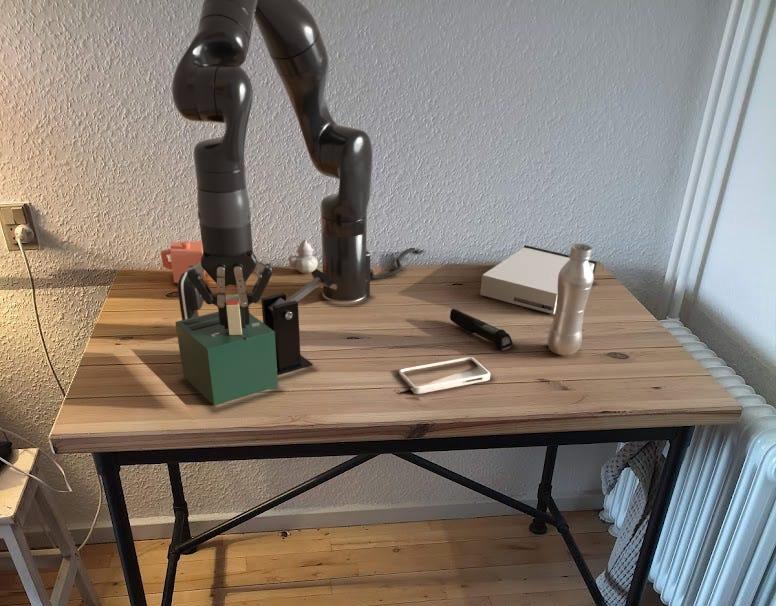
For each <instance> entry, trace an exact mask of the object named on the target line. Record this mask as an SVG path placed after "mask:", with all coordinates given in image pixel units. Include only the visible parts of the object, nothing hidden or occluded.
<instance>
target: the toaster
mask: <svg viewBox="0 0 776 606" xmlns="http://www.w3.org/2000/svg"><path fill="white" fill-rule="evenodd" d="M217 313H219V311H215V312H211V313H207V314H203V315H199V316H198V317H194V318H190V319H185V320H182V319H181V320H177V321H175V329H176V336H177V342H178V349H179V354H180V362H181V369H182V375H183V378H184V379H186V381H187V382H188V383H190V384H191V385H192V386H193V387H194V388H195V389H196V390H197V391H198V392H199V393H200V394H202V396H203V397H204V398H205V399H206V400H207V401H209V403H211V404H212V406H219V405H221V404H225V403H228V402H232V401H234V400H235V401H236V400H237V399H241V398H245V397H248V396H251V395H254V394H258V393H261V392H265V391H267V390H272V389H274V388H278V387H279V379H278V377H279V376H277V362H276V347H275V332H274V331H273V330H272V329H270V328H269V327H268V326H266V325H265V324H264V323H263V321H261V320H260V319H258V318H257V317H256V316H254V315H253V314H252V313H250V312H249V317H250V322H249V325H246V328H242V335H229V329H225V327H224V326H221V324H220V323H219V324H215V325H211V326H207V327H203V328H199V329H195V330H192V329H190V328H189V327H191V326H195V325H199V324H203V323H207V322H211V321H215V320H219V317H217V318H212V319H208V320H204V321H200V322H196V323H192V324H188V325H186V324H185V323H183V322H184V321H188V320H192V319H196V318H200V317H204V316H209V315H213V314H217Z"/></svg>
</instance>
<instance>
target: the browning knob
mask: <svg viewBox="0 0 776 606" xmlns="http://www.w3.org/2000/svg"><path fill="white" fill-rule="evenodd" d="M225 300H226V309H227V318H228V328H229V335H242V328H241V317H240V299H239V294H225Z"/></svg>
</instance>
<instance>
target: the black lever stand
mask: <svg viewBox="0 0 776 606" xmlns="http://www.w3.org/2000/svg"><path fill="white" fill-rule="evenodd" d="M279 298H282V299H283V300H285V301H286V300H287V294H286V293H285V292H279V293H275V294H271V295H266V296H263V297H262V296H261V298H260V301H261V314H262V315H261V316H262V323H264V324H265V325H266V326H268V327H269V328H270V329H272V330H273V331H274V332H275V347H276V362H277V377H279V376H281V375H284V374H288V373H291V372H295V371H298V370H301V369H304V368H309V367H311V366H313V363H312V362H311V361H309V360H308V359H307V358H305V356H303V355H302V354H301V339H300V338H301V337H300V318H299V317H300V316H299V313H300V312H299V301H298V302H297V301H295V300H294V301H290V302H286V303H282V304H278V305H274V306H273V316H272V314H271V312H270V310H269V308H268V307H269V306H270V305H271V304H273V303H274V302H275V301H277V300H278V299H279Z"/></svg>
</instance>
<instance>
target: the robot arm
mask: <svg viewBox="0 0 776 606" xmlns="http://www.w3.org/2000/svg"><path fill="white" fill-rule="evenodd" d="M254 22H255V24H256V26H257V28H258V30H259V33H260V35H261V38H262V40H263V43H264V45H265V48H266V50H267V53H268V55H269V57H270V59H271V62H272V64H273V67H274V68H275V71H276V73H277V75H278V77H279V79H280V81H281V83H282V85H283V88H284V90H285V92H286V95H287V97H288V101H289V102H290V104H291V107H292V110H293V111H294V115H295V117H296V119H297V122H298V125H299V129H300V131H301V134H302V138H303V141H304V144H305V147H306V150H307V152H308V156H309V159H310V161H311V163H312V165H313V166H314V168H315V169H316V171H317V172H318V173H320V174H321V175H323V176H324V177H325V176H326V177H328V178H333V179H337V180H339V181H338V182H339V183H338V190H337V191H338V193H333V194H330V195H327V196H325V197H323V198H322V200H321V201H320V227H321V228H320V229H321V231H320V232H321V233H320V234H321V267H322V269H321V272H322V273H324V274H326V275H328V276H329V277H331V278H332V280H333V282H334V284H332V285H331V286H330V287H327V286H326V285H324V284H322V293H321V294H322V299H323V300H324V301H332V302H338V303H354V302H357V301H360V300H363V299H364V298H367V299H368V298H370V297H371V279H373V280H379V279H384V278H390V277H391V276H394V275H397V274H398V273H400V272H401V270H402V269H403V266H402V264H401V260H402V259H403V258H404V257H405V256H406V255H408V254H409V253H412V252H415V253H416V254H419V253H420V252H421V251H420V250H419V248H417V250H415V248H416V247H415V248H412V247H409V248H407V249H405V250H404V251H403V252H401V253H400V254H399V255H398V256H397V257H396V260H395V264H396V265H397V267H396V268H395V269H394V270H392V271H389V272H387V273H383V274H375V272H374V270H373V269H372V268H371V252H370V251H368V250H367V244H368V243H367V241H368V239H367V235H368V234H367V233H368V231H367V228H368V226H367V224H368V223H367V222H368V221H367V220H368V219H367V218H368V206H369V202H370V199H371V192H372V191H371V189H372V175H373V161H374V159H373V158H374V157H373V154H374V153H373V152H374V151H373V145H372V141H371V139H370V138H371V137H370V136H369V134H367V132H365V131H364V130H362V129H359V128H353V127H349V126H345V125H339V124H338V123H336V121H335V120H334V118H333V117H332V115H331V113H330V109H329V107H328V105H327V102H326V97H325V91H326V85H327V81H328V76H329V69H330V66H329V65H330V64H329V61H330V60H329V54H328V51H327V48H326V45H325V43H324V40H323V38H322V37H323V36H322V35H321V32H320V29H319V27H318V23H317V21H316V19H315V17H314V16H313V14H312V12H311V11H310V10H309V9H308V8H307V7H306V6H305V5H304V4H303V3H302V2H301V1H300V0H203V1H202V7H201V12H200V16H199V21H198V25H197V30H196V33H195V35H194V37H193V38H192V40H191V41H190V44H189V45H188V47H187V48H186V50H185V52H184V53H183V55H182V56H181V58H180V60H179V61H178V64H177V66H176V68H175V70H174V74H173V77H172V84H171V96H172V100H173V101H172V102H173V104H174V106H175V108H176V111H177V112H178V113H179V114H180V116H181V117H183V118H184V119H186V120H187V121H191V122H199V123H214V124H215V123H217V124H225V125H224V126H225V128H224V129H225V130H224V133H223V134H222V136H220V137H219V136H218V137H214V138H208V139H204V140H200V141H198V142H197V143H196V144H195V146H194V148H193V162H194V163H193V164H194V168H195V180H196V188H197V189H196V190H197V194H196V195H197V197H196V201H197V202H196V203H197V217H198V220H199V230H200V239H201V242H202V248H203V255H202V258H201V262H200V263H198V264H197V265H195V266H189V267H188V270H187V276H188V278H189V279H190V281H191V282H192V284H193V285H194V286H195V288H196V289H197V291H198V292H199V294H200V295H201V296H202V298H203V299H204V302H205V304H207V305H208V306H209V305H210V306H211V305H214V306H216V307H217V312H219V321H220V324H221V326H224V327H225V329H229V328H228V318H227V309H226V287H228V286H234V287H236V289H237V293H238V294H239V300H240V317H241V328H246V325H249V322H250V317H249V313H250V305H252V304H257V303H259V301H261V298H262V295H263V294H264V292H265V290H266V288H267V285H268V283H269V281H270V280H271V277H272V275H273V269H272V265H271V264H270V263H265V264H264V263H263V262H261V261H258V260H257V256H256V255H255V253H254V249H253V247H254V246H253V235H252V223H251V222H252V220H251V209H250V207H251V205H250V199H249V194H248V190H247V189H248V188H247V179H246V166H245V165H246V164H245V147H246V138H247V130H248V125H249V121H250V115H251V110H252V106H253V97H254V95H253V86H252V83H251V80H250V77H249V76H248V74H247V72H246V71H245V70H244V69H243V68H242V67H241V66H242V65H244V63H245V61H246V59H247V56H248V52H249V48H250V42H251V36H252V31H253V25H254ZM414 250H415V251H414ZM203 270H205V273H206V274H207V275H208V276H209V277H210V278H211V279H212V281H214V282H215V284H216V293H214V292H213V291H212V290H211V288H210V287H209V285H208V284H207V283H206V281H204V280H203V276H204V273H203ZM254 270H256V277H257V280H256V281H255V283H254V285H253V288H252V290H251V292H248V291H247V285H246V284H247V283H246V282H247V281H248V279H249V278H250V276H251V275H252V274H253V272H254ZM238 294H237V295H238Z"/></svg>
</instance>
